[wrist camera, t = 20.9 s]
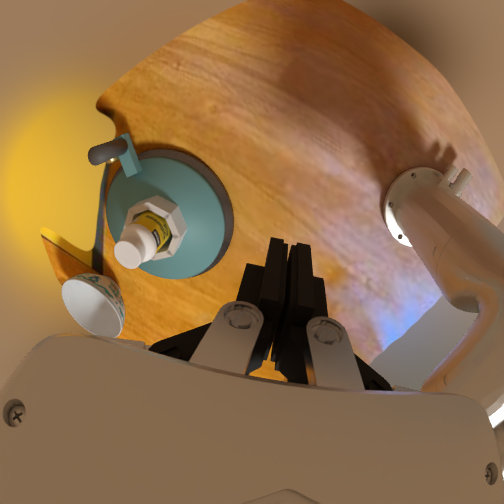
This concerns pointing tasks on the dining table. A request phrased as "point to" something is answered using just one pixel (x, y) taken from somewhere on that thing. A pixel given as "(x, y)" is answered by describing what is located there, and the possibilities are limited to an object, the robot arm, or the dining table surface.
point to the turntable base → (209, 176)
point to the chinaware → (95, 303)
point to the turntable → (164, 207)
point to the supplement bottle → (141, 239)
